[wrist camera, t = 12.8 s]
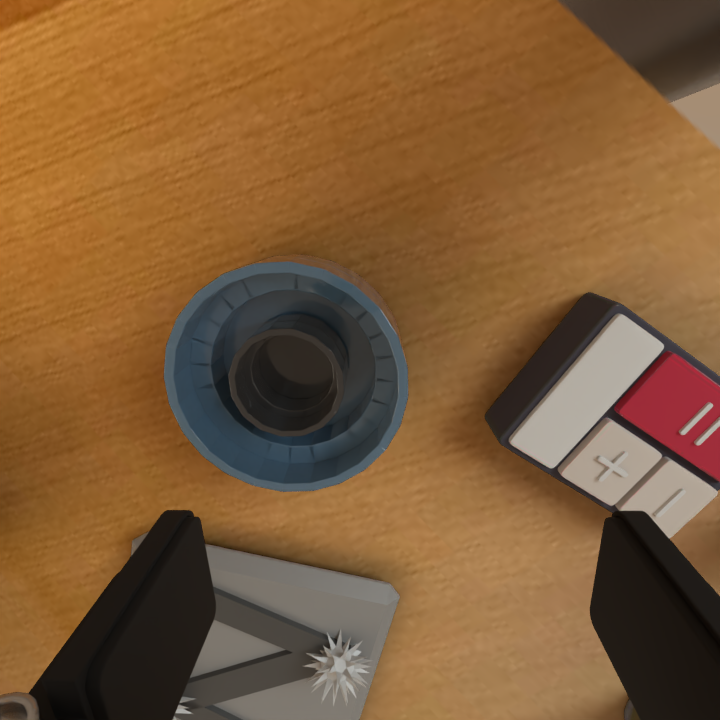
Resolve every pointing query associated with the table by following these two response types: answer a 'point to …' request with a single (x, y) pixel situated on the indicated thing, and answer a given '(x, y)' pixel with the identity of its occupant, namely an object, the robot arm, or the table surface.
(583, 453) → the calculator
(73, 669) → the robot arm
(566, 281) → the table surface
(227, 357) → the blue bowl
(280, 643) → the decorative plate
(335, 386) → the black bowl
